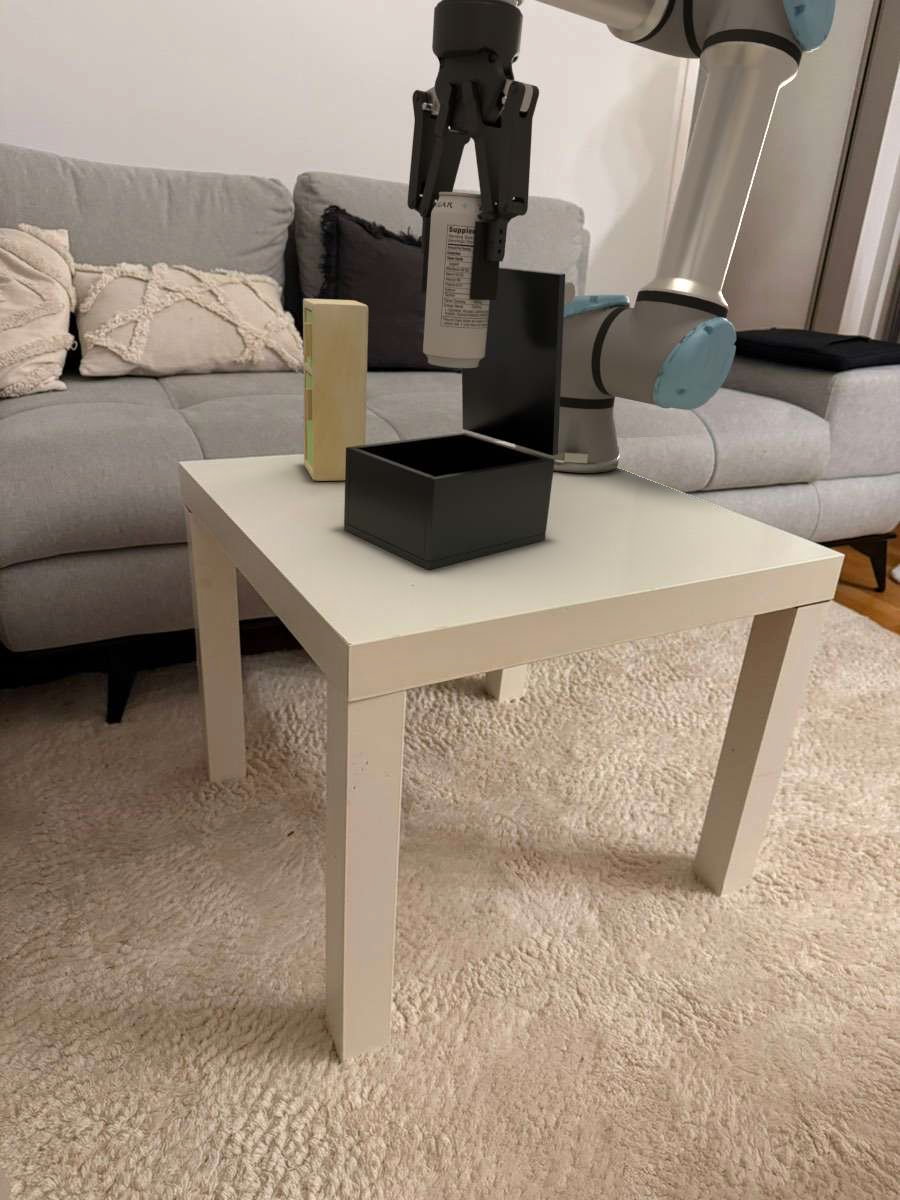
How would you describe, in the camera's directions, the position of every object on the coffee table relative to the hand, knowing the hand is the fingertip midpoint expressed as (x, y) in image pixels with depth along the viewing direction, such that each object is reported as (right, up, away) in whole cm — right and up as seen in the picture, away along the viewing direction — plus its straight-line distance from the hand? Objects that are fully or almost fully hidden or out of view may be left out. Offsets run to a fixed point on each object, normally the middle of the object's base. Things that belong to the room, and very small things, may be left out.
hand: (458, 295), depth 80 cm
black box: (-1, -22, +10) cm, 24 cm away
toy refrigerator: (-16, -13, +29) cm, 36 cm away
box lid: (+5, -4, +7) cm, 10 cm away
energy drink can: (-1, -6, +3) cm, 6 cm away
